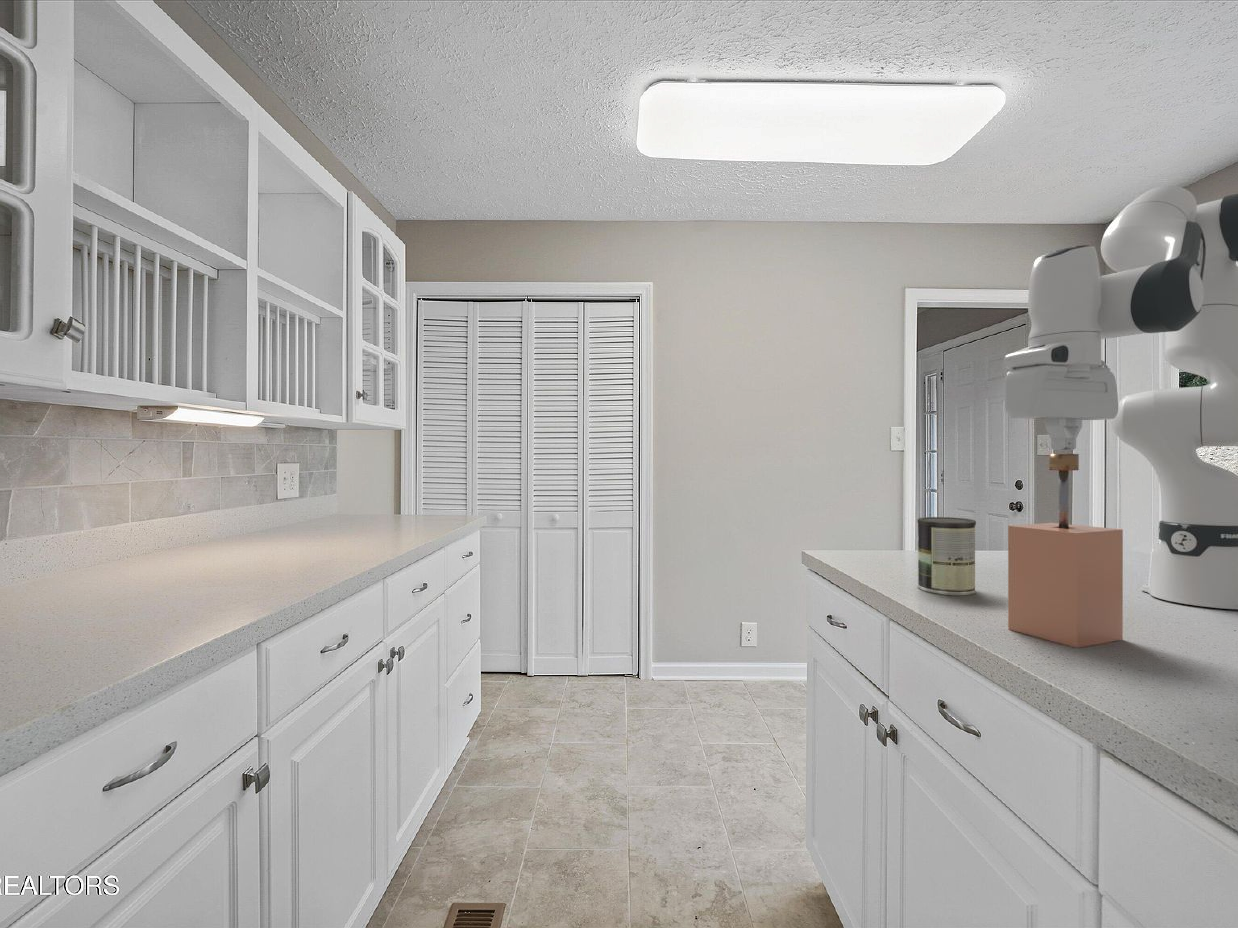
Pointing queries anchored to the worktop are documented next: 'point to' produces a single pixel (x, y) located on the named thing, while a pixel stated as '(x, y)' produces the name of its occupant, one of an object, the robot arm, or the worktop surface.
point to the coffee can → (946, 555)
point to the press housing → (1066, 583)
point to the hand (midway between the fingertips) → (1063, 449)
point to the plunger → (1064, 482)
